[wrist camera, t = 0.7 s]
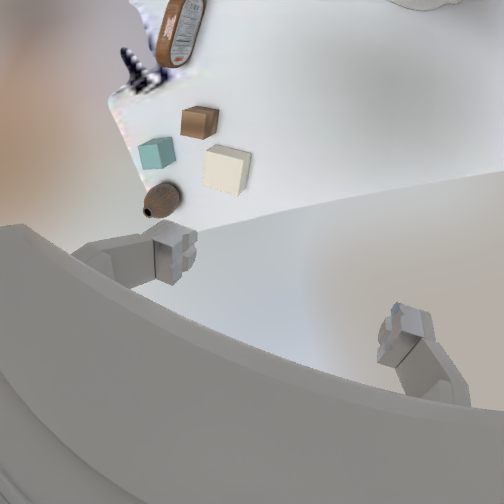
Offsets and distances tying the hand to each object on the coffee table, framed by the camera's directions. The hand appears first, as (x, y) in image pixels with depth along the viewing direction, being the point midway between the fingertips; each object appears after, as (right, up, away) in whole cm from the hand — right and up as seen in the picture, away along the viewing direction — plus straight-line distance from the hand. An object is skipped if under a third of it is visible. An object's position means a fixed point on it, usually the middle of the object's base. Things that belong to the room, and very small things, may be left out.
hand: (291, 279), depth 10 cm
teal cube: (-19, +22, +41) cm, 51 cm away
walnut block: (-10, +25, +35) cm, 44 cm away
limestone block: (-5, +17, +39) cm, 43 cm away
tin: (-11, +39, +25) cm, 48 cm away
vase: (-19, +14, +48) cm, 53 cm away
